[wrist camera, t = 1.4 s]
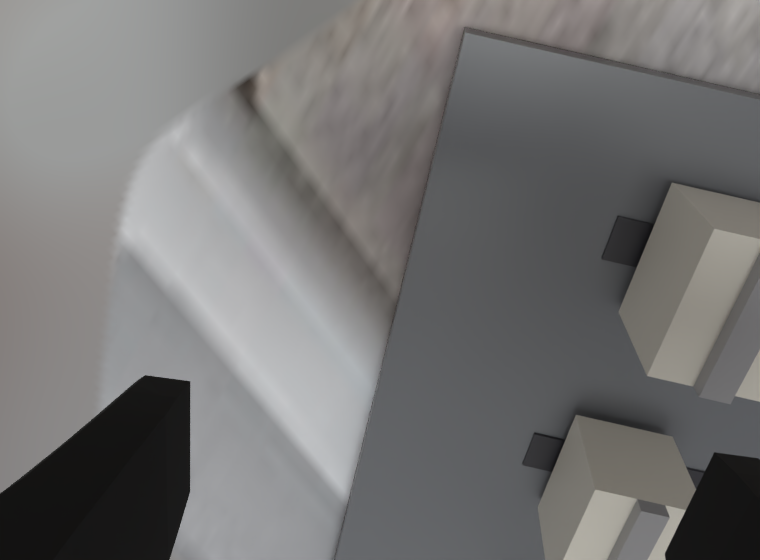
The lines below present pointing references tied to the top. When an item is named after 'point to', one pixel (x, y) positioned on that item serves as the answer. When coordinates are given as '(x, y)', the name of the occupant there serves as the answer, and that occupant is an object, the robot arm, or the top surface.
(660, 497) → the middle tab
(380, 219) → the top surface
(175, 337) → the top surface
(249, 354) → the top surface
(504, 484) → the switch board
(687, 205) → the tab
